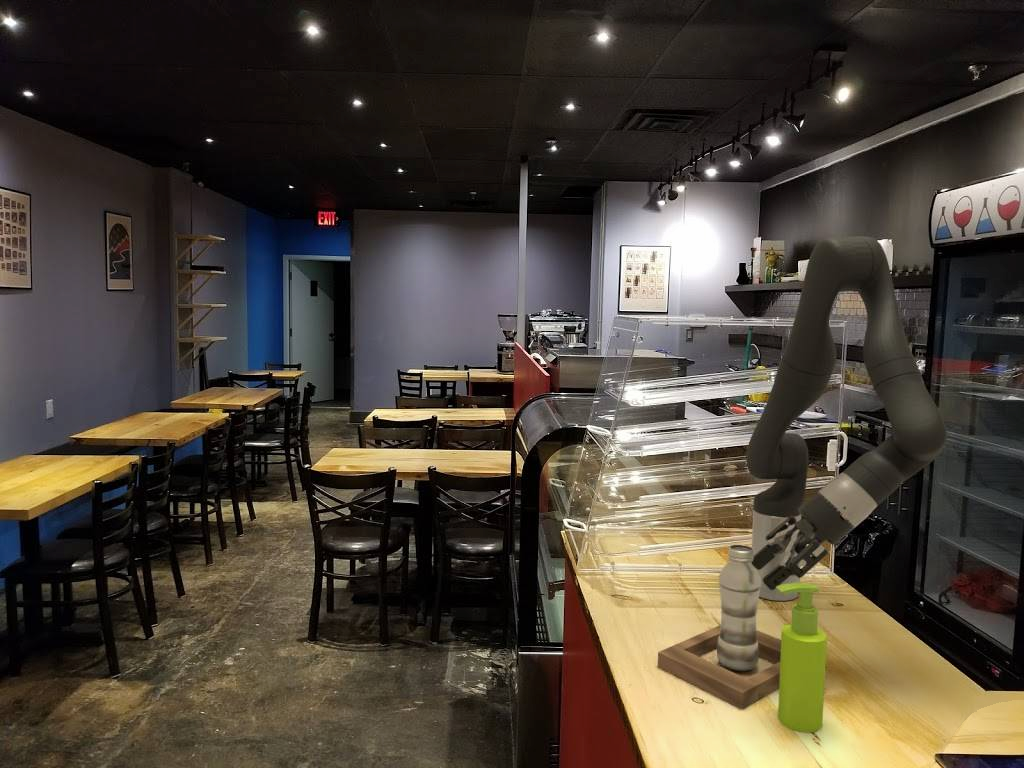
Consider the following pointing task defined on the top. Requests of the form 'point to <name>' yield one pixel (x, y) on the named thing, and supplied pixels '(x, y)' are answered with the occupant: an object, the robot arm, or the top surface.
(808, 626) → the soap dispenser
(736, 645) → the plastic bottle
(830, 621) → the top surface
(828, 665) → the top surface
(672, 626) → the top surface
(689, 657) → the brown wooden picture frame
